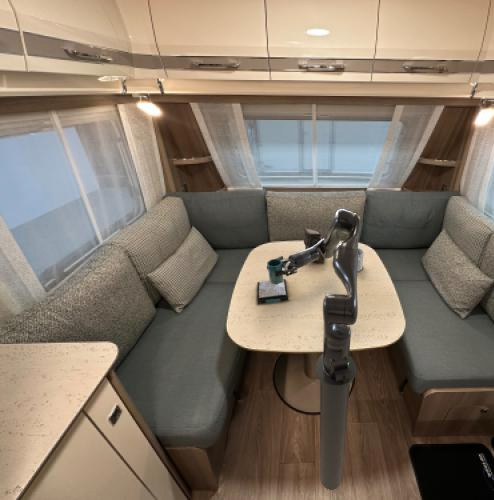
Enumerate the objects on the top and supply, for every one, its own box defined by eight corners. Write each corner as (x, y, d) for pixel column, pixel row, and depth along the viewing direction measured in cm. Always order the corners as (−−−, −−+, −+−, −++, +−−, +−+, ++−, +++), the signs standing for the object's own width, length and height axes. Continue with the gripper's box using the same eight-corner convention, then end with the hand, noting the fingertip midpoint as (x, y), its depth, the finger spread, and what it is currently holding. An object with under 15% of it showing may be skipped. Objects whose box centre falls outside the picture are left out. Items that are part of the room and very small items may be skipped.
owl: (324, 264, 160) (324, 235, 150) (303, 264, 160) (302, 235, 150) (324, 253, 171) (324, 225, 161) (304, 253, 171) (303, 225, 161)
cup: (283, 283, 125) (282, 265, 120) (269, 285, 124) (267, 267, 119) (282, 275, 131) (281, 258, 126) (269, 276, 130) (267, 259, 125)
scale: (288, 301, 133) (288, 296, 131) (257, 305, 130) (257, 300, 129) (285, 282, 146) (285, 277, 144) (257, 285, 143) (257, 280, 142)
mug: (346, 264, 161) (346, 248, 155) (359, 262, 162) (360, 247, 156) (351, 275, 150) (353, 259, 145) (366, 274, 152) (368, 257, 146)
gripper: (291, 247, 135) (262, 258, 126) (308, 259, 125) (278, 272, 117) (292, 259, 139) (264, 271, 130) (309, 272, 129) (279, 285, 120)
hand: (271, 271), depth 123 cm, fingers closed on cup, 6 cm apart
